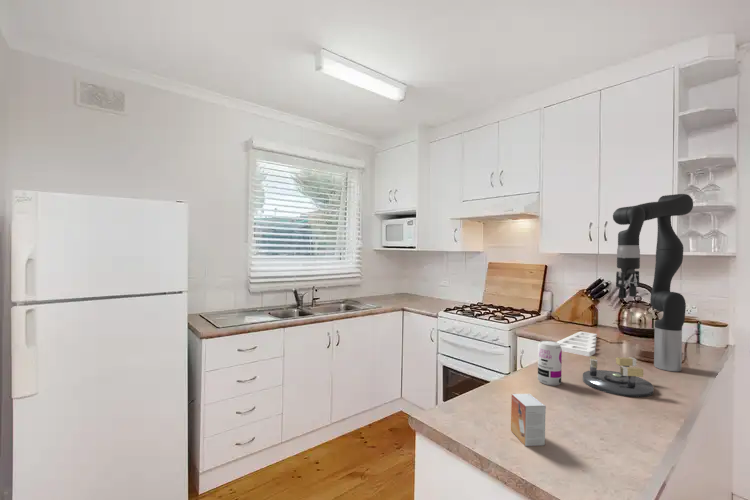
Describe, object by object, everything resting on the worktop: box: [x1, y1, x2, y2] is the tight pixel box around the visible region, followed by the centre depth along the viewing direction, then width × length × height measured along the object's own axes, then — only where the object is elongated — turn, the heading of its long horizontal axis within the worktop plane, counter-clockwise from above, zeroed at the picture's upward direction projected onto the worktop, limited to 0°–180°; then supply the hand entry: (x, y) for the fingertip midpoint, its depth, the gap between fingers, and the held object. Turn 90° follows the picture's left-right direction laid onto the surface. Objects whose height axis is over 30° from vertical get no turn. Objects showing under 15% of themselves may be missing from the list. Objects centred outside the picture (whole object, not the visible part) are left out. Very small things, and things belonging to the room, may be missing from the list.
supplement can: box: [537, 340, 563, 387], centre depth 138 cm, size 8×8×15 cm
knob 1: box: [589, 355, 598, 376], centre depth 139 cm, size 6×2×7 cm, turn 152°
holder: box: [556, 331, 598, 358], centre depth 194 cm, size 45×18×3 cm, turn 133°
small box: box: [510, 393, 547, 447], centre depth 97 cm, size 8×6×10 cm
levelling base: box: [582, 369, 654, 398], centre depth 136 cm, size 22×22×4 cm
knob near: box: [615, 356, 637, 367], centre depth 140 cm, size 6×2×7 cm, turn 90°
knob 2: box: [619, 366, 644, 388], centre depth 128 cm, size 6×2×7 cm, turn 79°
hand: (627, 297), depth 144 cm, fingers open, 8 cm apart
